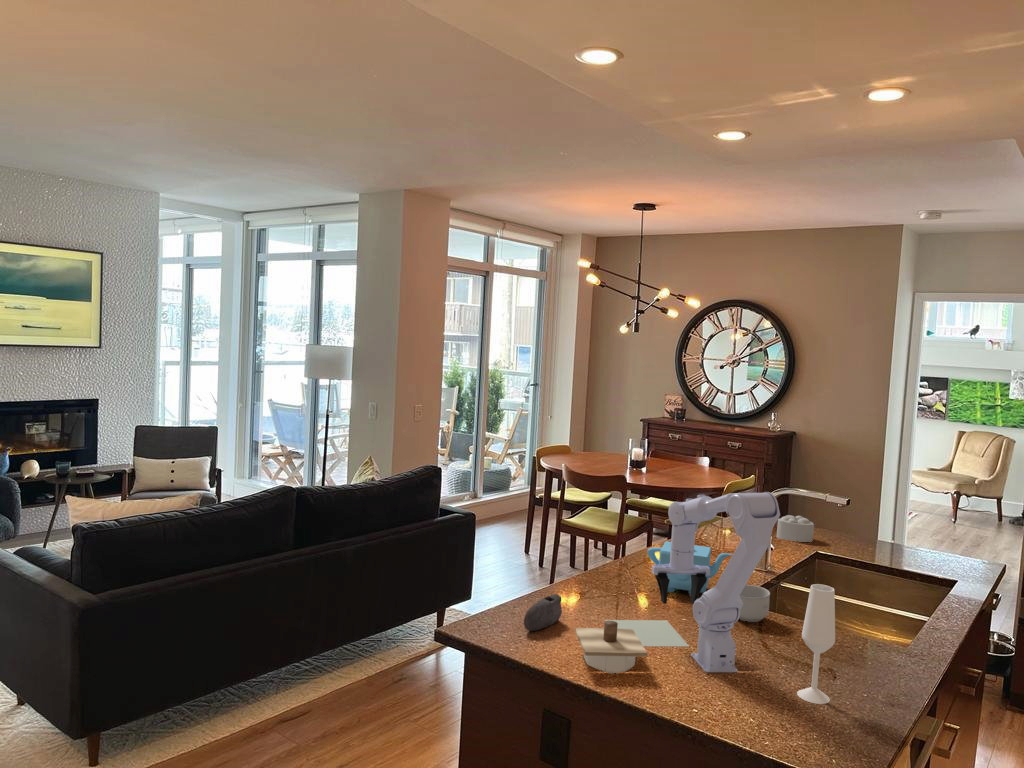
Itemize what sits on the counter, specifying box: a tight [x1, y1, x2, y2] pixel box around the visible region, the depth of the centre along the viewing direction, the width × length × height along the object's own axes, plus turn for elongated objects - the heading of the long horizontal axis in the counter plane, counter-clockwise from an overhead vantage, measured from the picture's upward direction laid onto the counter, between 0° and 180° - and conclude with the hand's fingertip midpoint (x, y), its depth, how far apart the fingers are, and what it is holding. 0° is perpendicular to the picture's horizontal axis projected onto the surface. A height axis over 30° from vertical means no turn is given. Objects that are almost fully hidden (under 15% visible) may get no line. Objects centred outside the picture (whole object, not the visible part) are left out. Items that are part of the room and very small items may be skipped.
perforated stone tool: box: [523, 593, 563, 632], centre depth 200 cm, size 15×5×7 cm, turn 141°
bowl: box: [583, 653, 636, 674], centre depth 180 cm, size 11×11×4 cm
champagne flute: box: [796, 583, 836, 705], centre depth 168 cm, size 7×7×24 cm
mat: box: [604, 619, 690, 648], centre depth 198 cm, size 17×17×1 cm
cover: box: [574, 620, 648, 658], centre depth 180 cm, size 14×14×5 cm
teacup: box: [738, 584, 771, 623], centre depth 215 cm, size 14×11×8 cm
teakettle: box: [646, 540, 733, 596], centre depth 235 cm, size 19×19×15 cm
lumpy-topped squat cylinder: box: [776, 514, 815, 543], centre depth 305 cm, size 10×13×9 cm
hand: (678, 602), depth 196 cm, fingers open, 7 cm apart
